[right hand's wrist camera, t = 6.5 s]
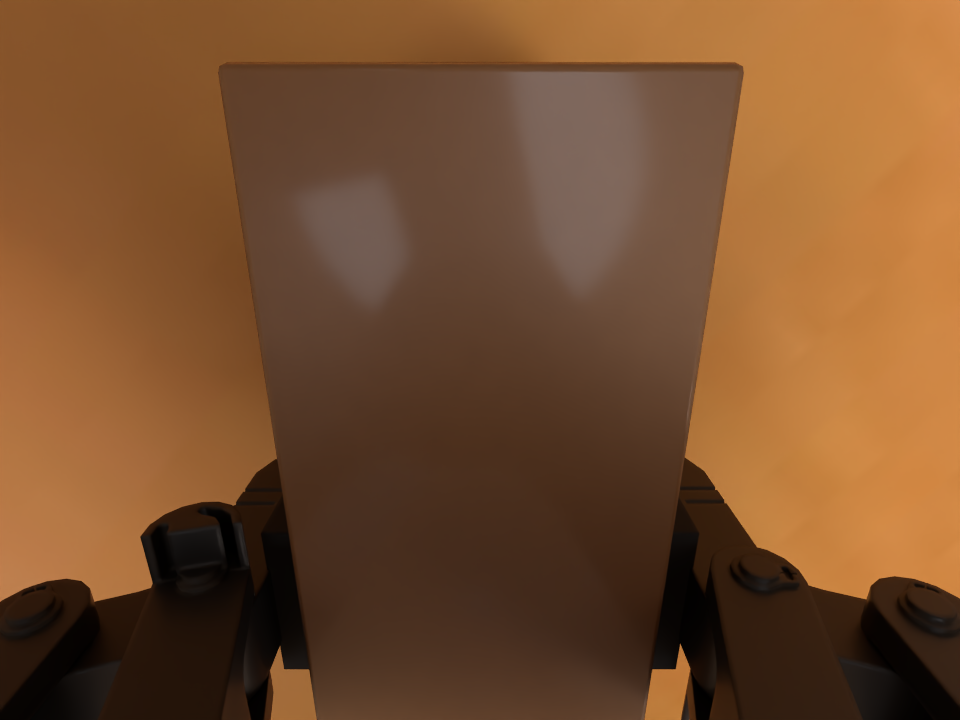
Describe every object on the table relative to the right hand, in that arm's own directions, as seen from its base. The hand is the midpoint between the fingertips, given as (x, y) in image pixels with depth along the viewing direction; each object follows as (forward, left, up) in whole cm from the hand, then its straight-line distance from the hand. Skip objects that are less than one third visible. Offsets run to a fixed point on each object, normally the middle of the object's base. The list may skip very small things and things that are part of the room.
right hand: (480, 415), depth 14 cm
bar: (+15, +11, -1) cm, 19 cm away
